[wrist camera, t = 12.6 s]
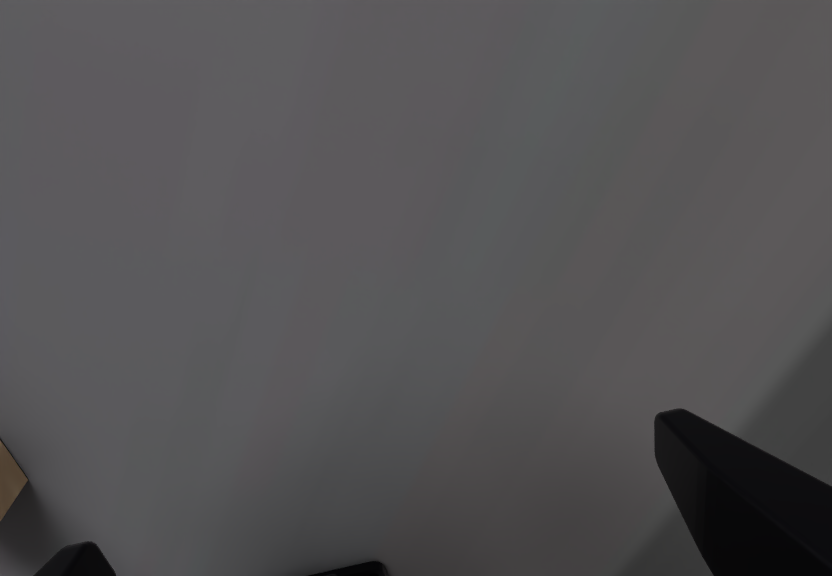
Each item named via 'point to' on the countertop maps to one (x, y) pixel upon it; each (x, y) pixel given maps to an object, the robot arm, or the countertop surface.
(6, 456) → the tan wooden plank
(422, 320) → the countertop surface
